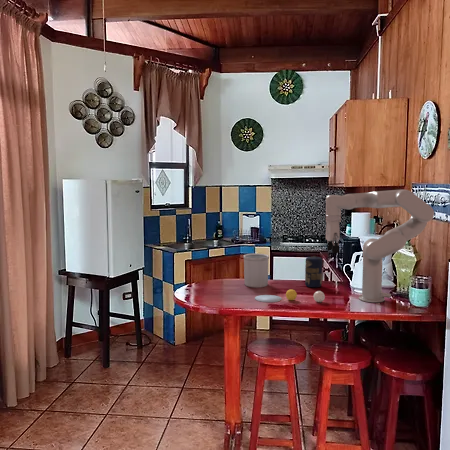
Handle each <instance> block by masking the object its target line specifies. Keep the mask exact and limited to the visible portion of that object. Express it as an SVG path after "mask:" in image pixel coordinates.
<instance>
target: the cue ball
mask: <svg viewBox="0 0 450 450" xmlns="http://www.w3.org/2000/svg"><path fill="white" fill-rule="evenodd" d="M313 299H314V301H315V302H317V303H322V302H324V301H325V299H326V297H325V293H324V292H323V291H321V290H317V291H315V292H314V293H313Z"/></svg>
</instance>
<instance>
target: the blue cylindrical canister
mask: <svg viewBox="0 0 450 450" xmlns="http://www.w3.org/2000/svg"><path fill="white" fill-rule="evenodd" d="M304 265H305V267H304V270H305V271H304V273H305V274H304V277H305V278H304V279H305V280H304V285H305V286H306V287H309V288H320V287H321V286H322V283H323V258H322V257H320V256H318V255H317V256H316V255H313V256H307V257H305V264H304Z"/></svg>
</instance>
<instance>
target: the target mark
mask: <svg viewBox="0 0 450 450" xmlns="http://www.w3.org/2000/svg"><path fill="white" fill-rule="evenodd" d="M255 300H256V301H258V302H262V303H277V302H281V301H282V300H283V299H282V297H281V296H279V295H276V294H275V295H273V294H262V295H256V296H255V297H254V301H255ZM280 300H281V301H280Z"/></svg>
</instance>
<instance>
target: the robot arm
mask: <svg viewBox="0 0 450 450" xmlns="http://www.w3.org/2000/svg"><path fill="white" fill-rule="evenodd" d="M399 207H401V208H402V209H403V210H405V211H406V212H407V214H408V213H409V214H410V215H411V216H410V218H409V219H407V221H405V222H404V223H402V224H400V225H398V226H396V227H393V228H391V229H389V230H387V231H386V232H385V233H384V234H383V236H381V237H379V238H373V237H372V238H369V239H367V240H365V241H364V243H363V246H362V281H361V283H362V284H361V294H360V295H359V296H358V299H359V300H360V301H362V302H366V303H375V304H377V303H383V302H385V298H389V299H391V298H392V294H391V293H388V292H383V290H382V286H383V285H382V284H383V283H382V282H383V258H384V259H385V258H387V257H388V256H391V255H393V254H395V253H397V252H399V251H400V250H401V249H403V248H404V247H405V245H406V243H407V242H408V241H409V240H412V239H413V238H415V237H417V236H419V235H421V234H422V232H423V231H424V230H425V229H426V227H427V225H428V222H430V221H432V220H433V218H434V216H435V210H434V209H433V208H432V206H431V205H429V204H428V203H427V202H426V201H424V200H422V199H421V198H420V197H418V196H417V195H416V194H415V193H414V192H413V191H410V190H409V189H392V190H377V191H370V192H360V193H359V192H358V193H356V192H355V193H347V194H346V193H345V194H343V195H339V194H329V195H327V196H326V198H325V222H326V226H325V239H326V240H327V241H326V242H327V243H326V244H327V245H326V247H327V248H326V251H331V253H332V254H339V253H340V236H341V235H340V222H342V221H341V220H342V211H341V210H353V209H356V208H357V209H358V208H372V209H384V208H387V209H388V208H399Z"/></svg>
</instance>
